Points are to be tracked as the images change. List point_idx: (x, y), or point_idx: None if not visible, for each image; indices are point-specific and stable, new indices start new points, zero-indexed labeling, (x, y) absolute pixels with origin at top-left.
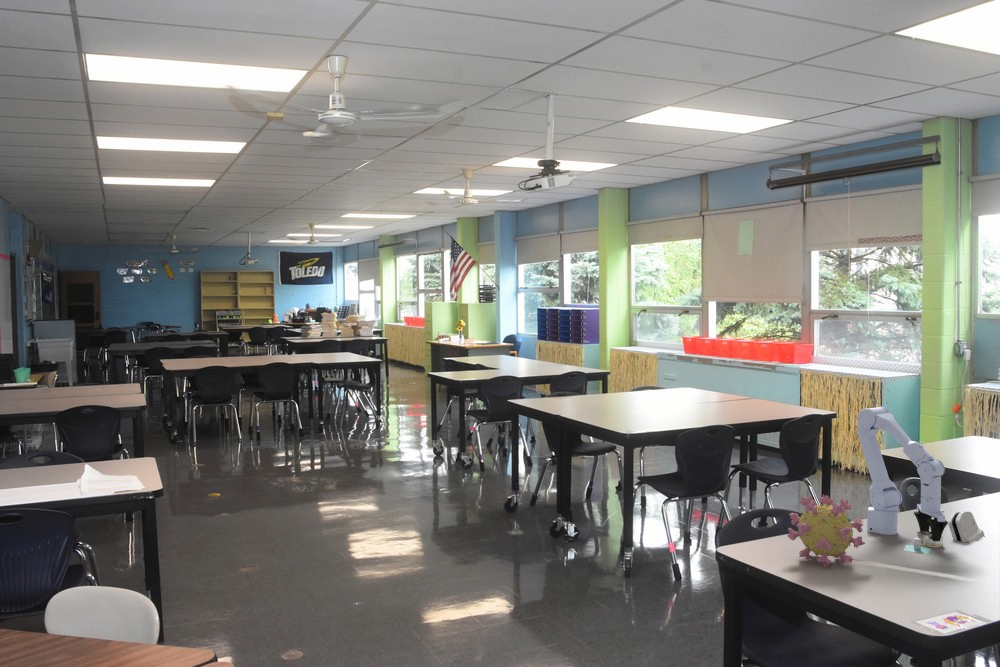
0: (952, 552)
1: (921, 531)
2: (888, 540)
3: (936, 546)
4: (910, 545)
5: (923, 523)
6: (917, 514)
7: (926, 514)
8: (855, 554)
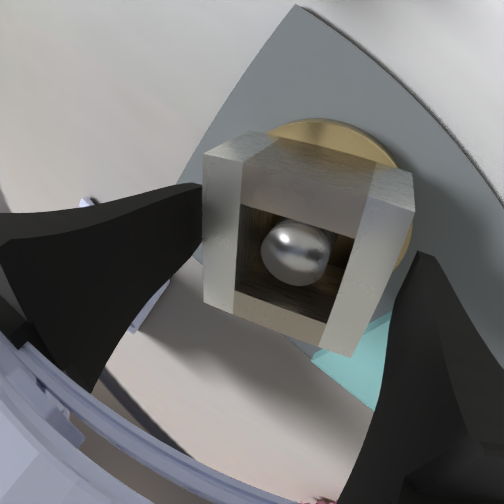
0: (495, 154)
1: (226, 292)
2: (195, 323)
3: (409, 239)
4: (330, 356)
5: (137, 278)
6: (89, 388)
7: (49, 320)
8: (336, 473)
